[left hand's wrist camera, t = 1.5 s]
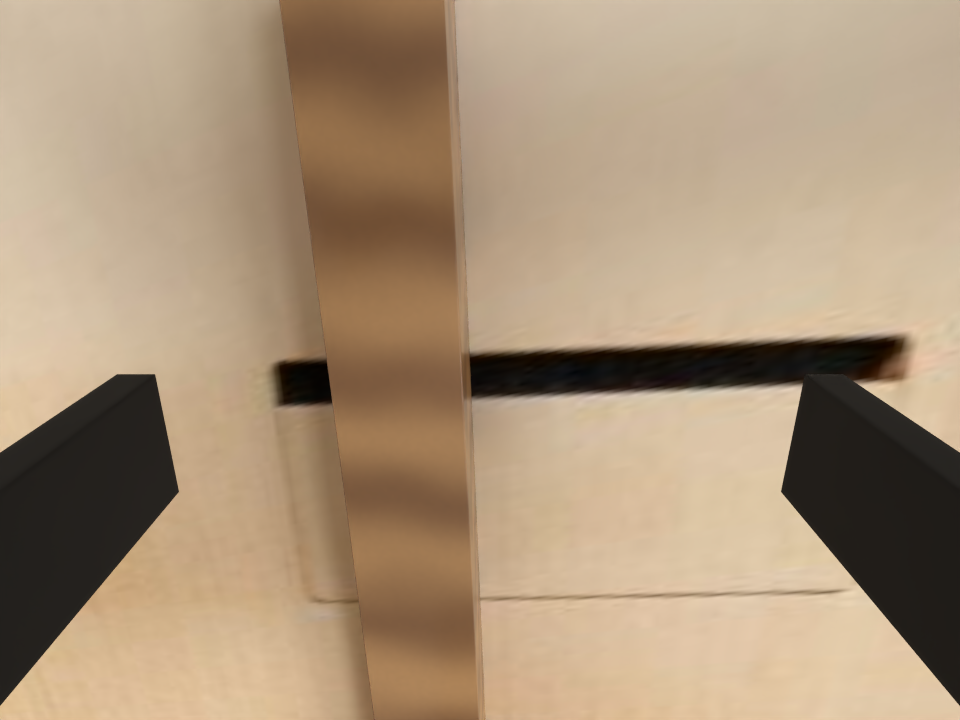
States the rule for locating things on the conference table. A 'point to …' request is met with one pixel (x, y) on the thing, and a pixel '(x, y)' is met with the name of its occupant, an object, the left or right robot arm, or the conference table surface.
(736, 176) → the conference table surface
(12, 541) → the left robot arm
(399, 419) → the beam
